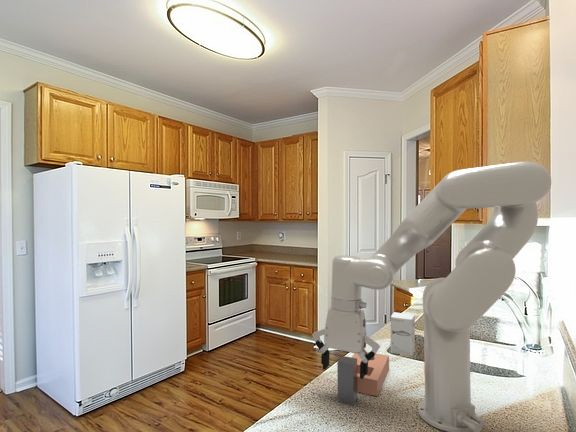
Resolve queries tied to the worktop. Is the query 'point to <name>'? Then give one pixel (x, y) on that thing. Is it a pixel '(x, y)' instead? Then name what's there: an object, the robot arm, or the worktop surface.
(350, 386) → the square peg
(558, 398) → the worktop surface
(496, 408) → the worktop surface
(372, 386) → the bore block
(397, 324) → the supplement box
